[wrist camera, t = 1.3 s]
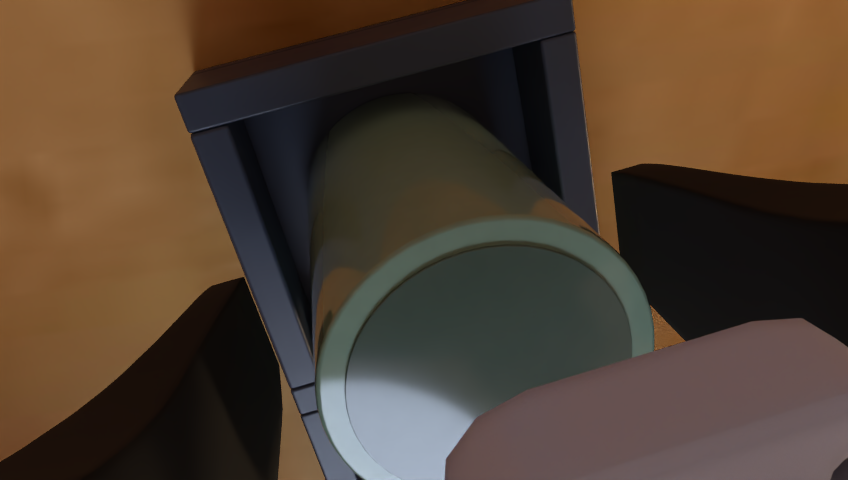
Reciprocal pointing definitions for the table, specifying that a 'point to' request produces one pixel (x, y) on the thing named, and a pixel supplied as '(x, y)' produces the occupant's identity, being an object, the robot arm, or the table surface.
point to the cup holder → (345, 91)
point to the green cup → (447, 284)
